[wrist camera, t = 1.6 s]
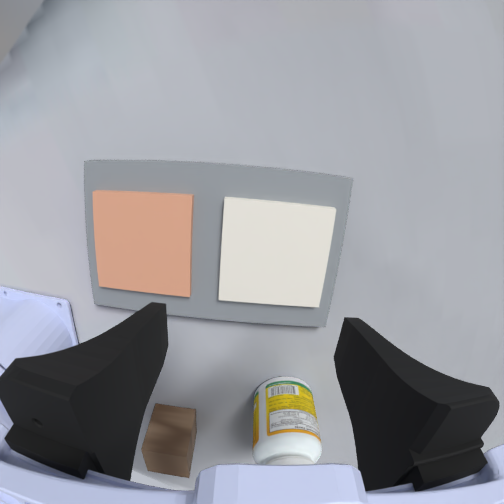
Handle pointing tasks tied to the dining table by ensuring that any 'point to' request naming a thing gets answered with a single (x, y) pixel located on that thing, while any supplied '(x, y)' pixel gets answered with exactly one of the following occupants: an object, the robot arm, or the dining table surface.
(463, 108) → the dining table surface
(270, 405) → the supplement bottle
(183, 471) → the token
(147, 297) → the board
